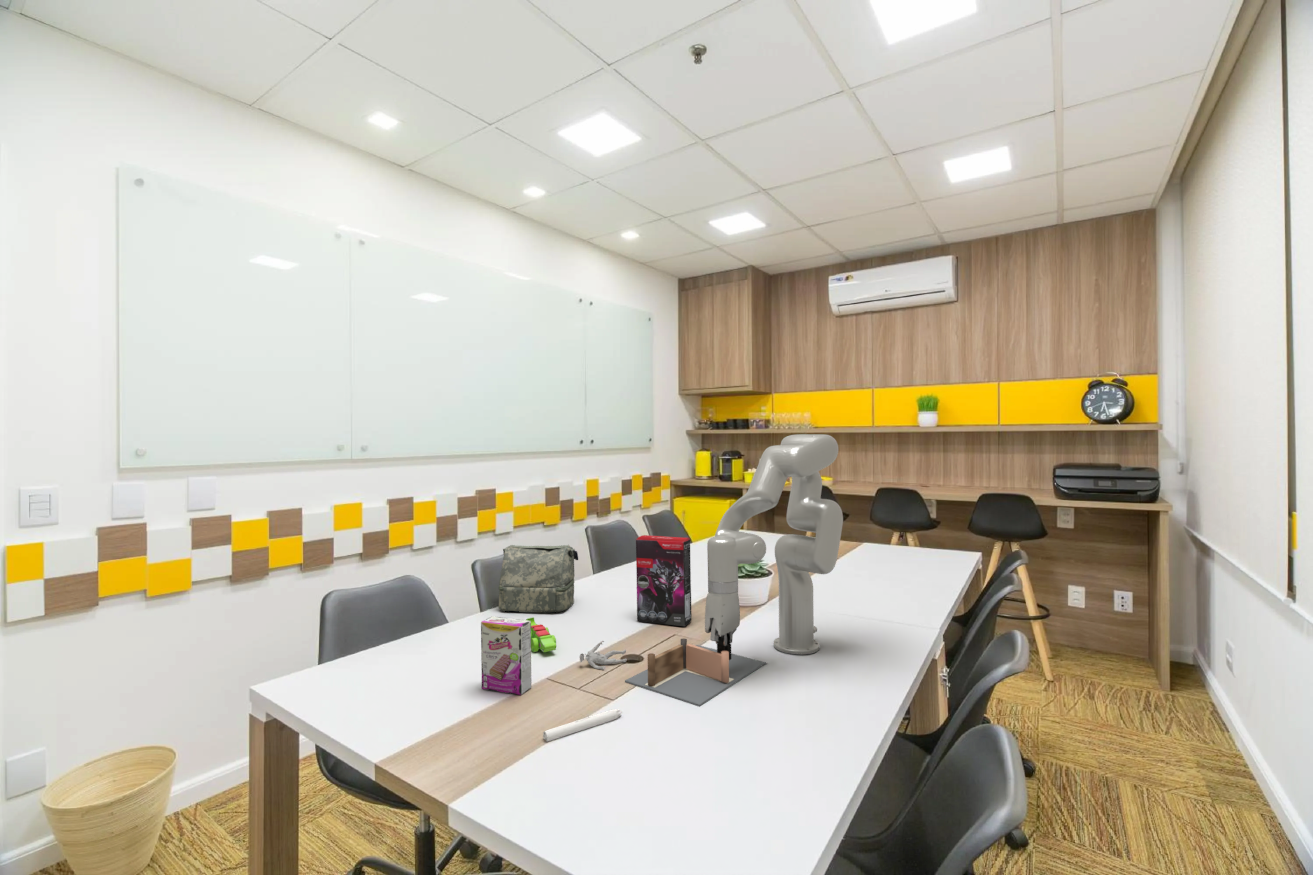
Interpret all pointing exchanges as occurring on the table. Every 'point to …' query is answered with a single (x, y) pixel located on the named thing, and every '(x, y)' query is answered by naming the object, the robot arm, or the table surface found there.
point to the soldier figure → (601, 657)
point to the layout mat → (698, 681)
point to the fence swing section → (708, 662)
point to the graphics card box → (663, 580)
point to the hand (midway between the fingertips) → (724, 659)
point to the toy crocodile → (541, 637)
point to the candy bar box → (506, 655)
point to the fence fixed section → (666, 663)
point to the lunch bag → (537, 578)
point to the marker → (581, 724)
